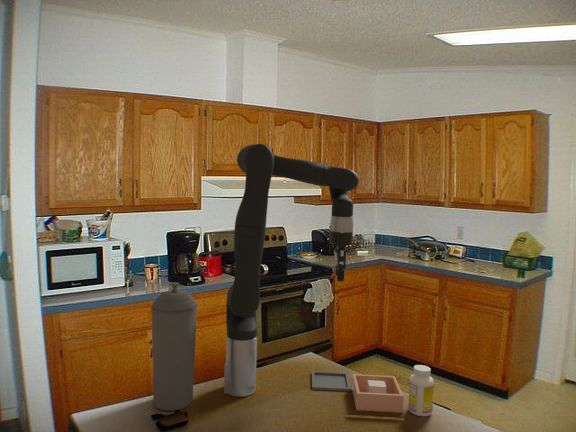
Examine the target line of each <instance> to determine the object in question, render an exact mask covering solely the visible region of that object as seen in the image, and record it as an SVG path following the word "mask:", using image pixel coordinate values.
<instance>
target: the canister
mask: <svg viewBox="0 0 576 432" xmlns="http://www.w3.org/2000/svg"><path fill="white" fill-rule="evenodd" d="M170 286H171V287H172V289H171V290H166V291H163V292H162V293H160V294H159V295H158V297H157V298H156V299H155V301H153V302H152V305H151V307H150V308H151V323H152V324H151V329H152V330H151V331H152V332H151V333H152V334H151V335H152V336H151V338H152V339H151V341H152V389H153V391H152V395H153V396H152V397H153V398H152V400H153V405H154V406H155V408H157V409H159V410H160V411H166V412H175V411H180V410H182V409H185V408H188V407H189V406H190V405H191V404H192V402H193V398H194V397H193V396H194V379H195V361H196V360H195V357H196V336H197V335H196V334H197V312H198V304H197V301H196V300H195V299H194V297H192V296H191V294H190V293H189V292H187V291H185V290H181V289H178V287H179V286H180V282H176V281H175V282H171V283H170Z"/></svg>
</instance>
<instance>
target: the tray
mask: <svg viewBox="0 0 576 432" xmlns="http://www.w3.org/2000/svg"><path fill="white" fill-rule="evenodd" d="M311 390H314V391H329V392H330V391H331V392H332V391H334V392H348V393H349V392H352V386H351V383H350V377H349V373H348V372H339V371H338V372H337V371H322V370H321V371H320V370H311Z"/></svg>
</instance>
